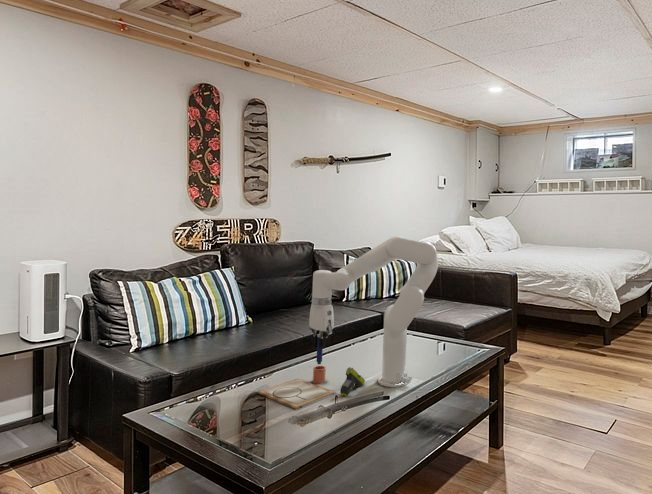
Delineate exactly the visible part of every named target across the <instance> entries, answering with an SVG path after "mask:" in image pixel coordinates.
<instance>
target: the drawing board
mask: <svg viewBox="0 0 652 494" xmlns="http://www.w3.org/2000/svg"><path fill="white" fill-rule="evenodd" d="M258 394H259V395H261V396H264V397H266V398H268V399H271V400H273V401H275V402H277V403H280V404H282V405H285V406H287V407H290V408H293V409H294V410H297V409H301V408H303V406H305V405H308V404H309V403H312V402H316V401H318V400H320V399H323V398H325V397H328V396H331V395H333V394H336V391H334V390H331V389H328V388H325V387H322V386H319V385H318V384H315V383H311V382H308V381H306V380H303V379H300V378H296V379H293V380H290V381H287V382H284V383H280V384H278V385H277V384H276V385H274V386H271V387H268V388H265V389H262V390H259V391H258Z"/></svg>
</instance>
